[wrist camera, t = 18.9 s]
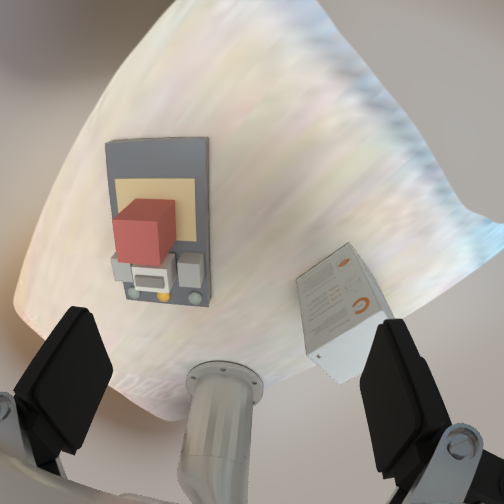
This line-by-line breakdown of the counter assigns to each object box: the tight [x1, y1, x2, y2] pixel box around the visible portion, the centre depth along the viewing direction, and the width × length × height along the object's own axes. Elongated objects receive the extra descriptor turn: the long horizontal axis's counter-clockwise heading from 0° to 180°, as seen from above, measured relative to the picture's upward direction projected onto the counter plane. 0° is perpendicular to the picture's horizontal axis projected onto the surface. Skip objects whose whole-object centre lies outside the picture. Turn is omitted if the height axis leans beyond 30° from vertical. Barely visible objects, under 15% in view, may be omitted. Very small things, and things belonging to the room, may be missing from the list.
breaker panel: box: [105, 137, 211, 307], centre depth 34 cm, size 20×11×4 cm, turn 178°
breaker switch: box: [131, 253, 177, 293], centre depth 34 cm, size 3×4×4 cm
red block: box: [112, 198, 176, 266], centre depth 31 cm, size 4×4×6 cm
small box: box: [297, 243, 395, 384], centre depth 33 cm, size 8×6×13 cm
